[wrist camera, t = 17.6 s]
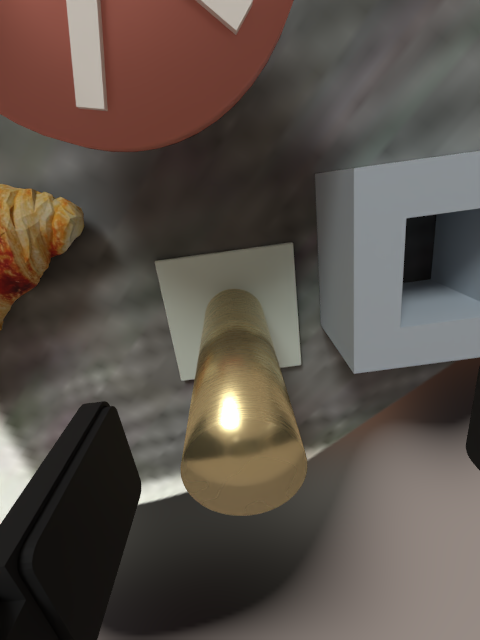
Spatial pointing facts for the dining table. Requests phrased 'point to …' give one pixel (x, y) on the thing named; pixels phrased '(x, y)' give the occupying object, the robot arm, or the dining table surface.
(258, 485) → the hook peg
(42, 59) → the handwheel
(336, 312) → the eye block
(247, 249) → the sage mat
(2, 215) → the croissant
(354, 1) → the dining table surface
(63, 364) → the dining table surface
